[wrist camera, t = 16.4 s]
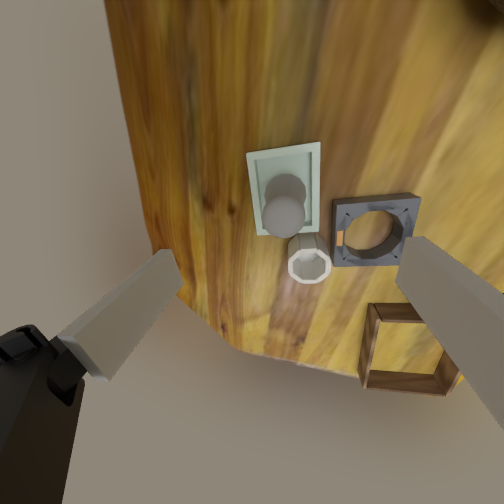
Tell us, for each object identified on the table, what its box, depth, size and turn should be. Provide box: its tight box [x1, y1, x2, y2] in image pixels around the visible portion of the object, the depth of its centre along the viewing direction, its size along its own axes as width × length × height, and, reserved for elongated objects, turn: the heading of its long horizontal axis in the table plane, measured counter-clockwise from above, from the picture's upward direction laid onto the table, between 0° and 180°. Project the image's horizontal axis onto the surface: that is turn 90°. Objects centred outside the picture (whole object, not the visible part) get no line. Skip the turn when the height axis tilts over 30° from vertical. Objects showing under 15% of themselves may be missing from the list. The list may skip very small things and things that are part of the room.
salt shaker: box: [261, 174, 307, 238], centre depth 24 cm, size 6×6×13 cm
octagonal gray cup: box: [288, 232, 331, 284], centre depth 32 cm, size 6×6×6 cm
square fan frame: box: [330, 193, 421, 267], centre depth 30 cm, size 10×10×3 cm
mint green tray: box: [246, 142, 320, 236], centre depth 30 cm, size 12×10×2 cm
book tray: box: [358, 303, 462, 397], centre depth 39 cm, size 21×16×4 cm
